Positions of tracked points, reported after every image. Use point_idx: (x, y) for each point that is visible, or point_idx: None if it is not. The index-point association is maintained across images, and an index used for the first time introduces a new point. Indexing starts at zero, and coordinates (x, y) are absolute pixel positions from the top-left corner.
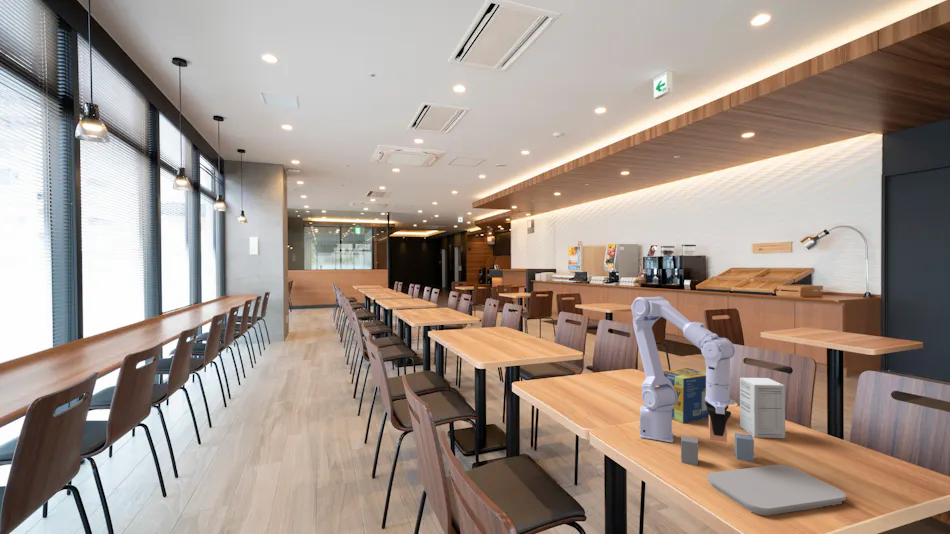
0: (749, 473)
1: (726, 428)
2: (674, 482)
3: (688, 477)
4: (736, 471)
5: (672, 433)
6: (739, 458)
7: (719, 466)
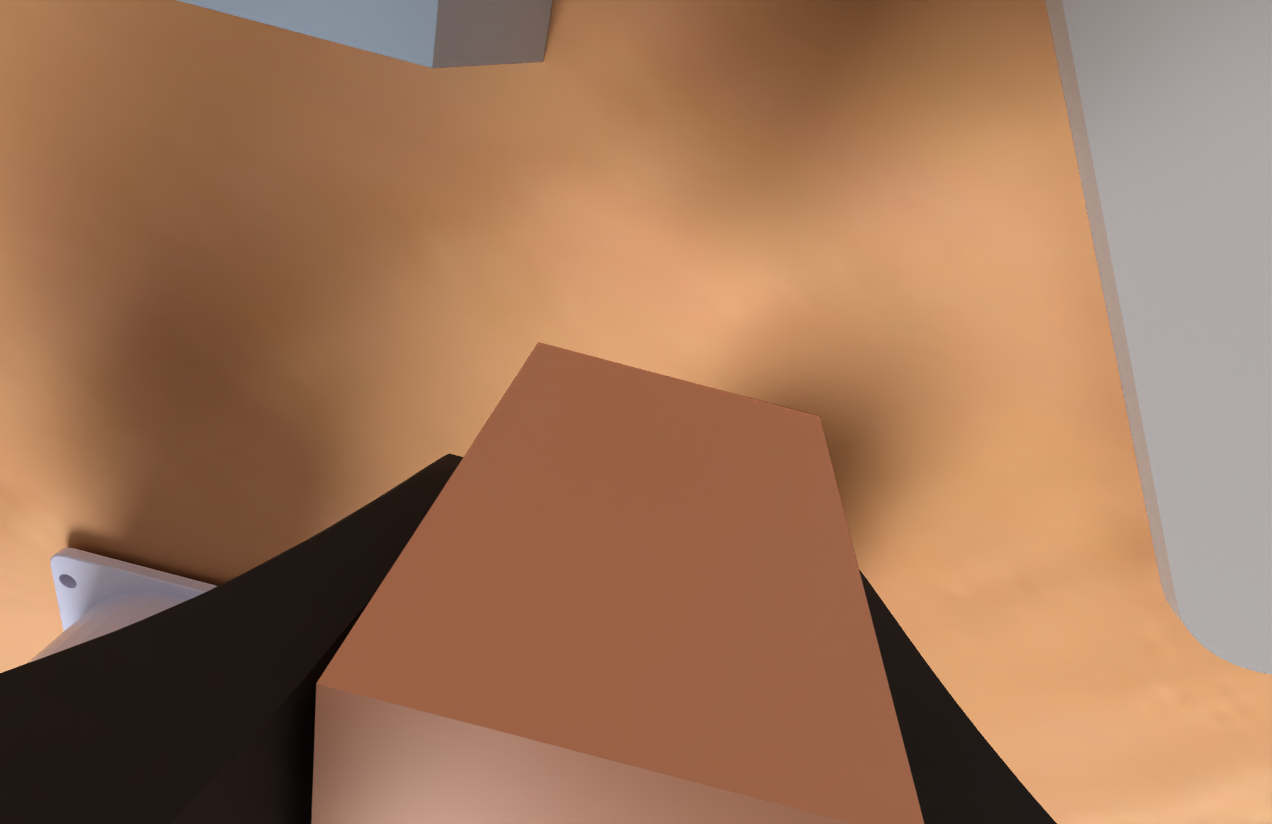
0: (1267, 179)
1: (859, 602)
2: (1156, 817)
3: (1071, 709)
4: (1182, 335)
5: (87, 567)
6: (542, 23)
7: (805, 367)
